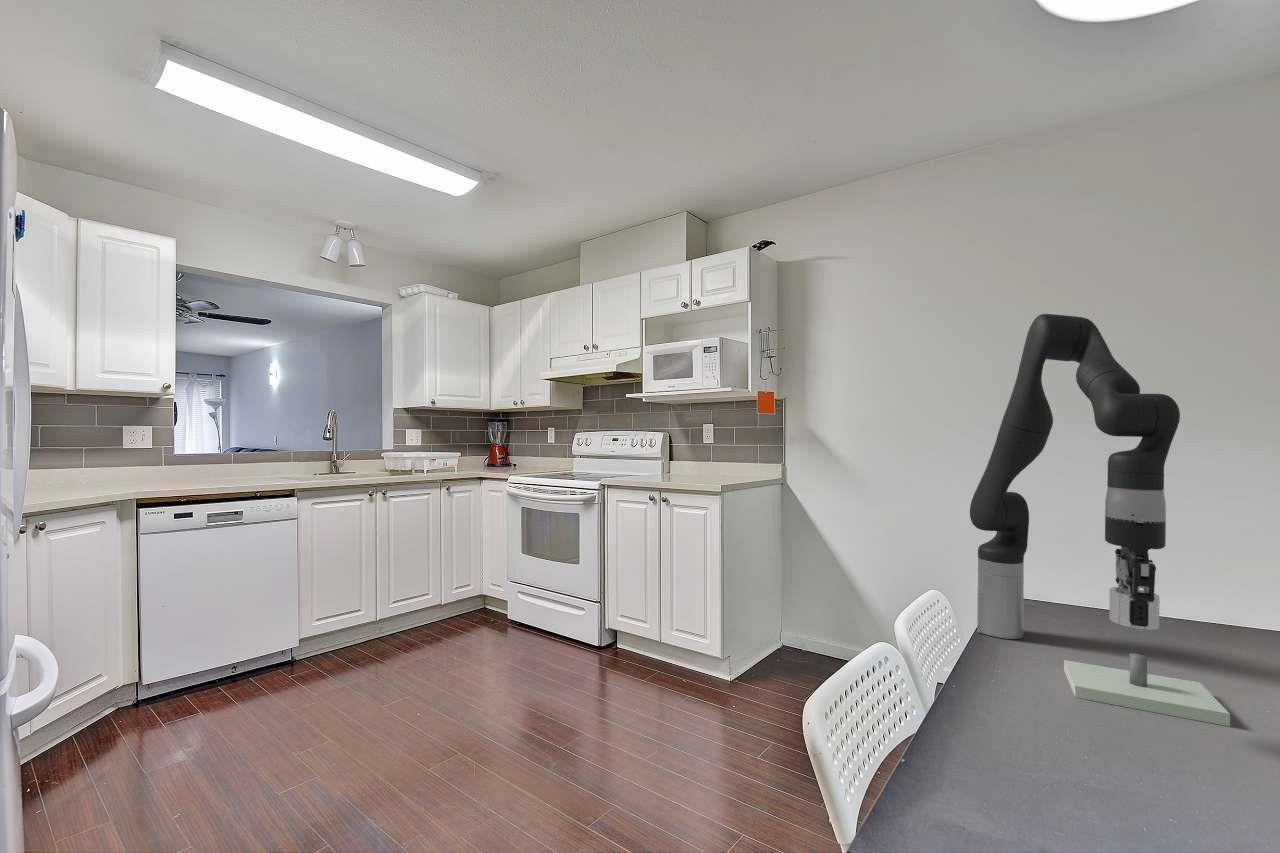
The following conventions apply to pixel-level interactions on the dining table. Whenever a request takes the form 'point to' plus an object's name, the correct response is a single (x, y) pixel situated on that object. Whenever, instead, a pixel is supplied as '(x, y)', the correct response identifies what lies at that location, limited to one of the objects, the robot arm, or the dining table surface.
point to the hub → (1121, 609)
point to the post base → (1145, 691)
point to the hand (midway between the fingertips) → (1133, 619)
